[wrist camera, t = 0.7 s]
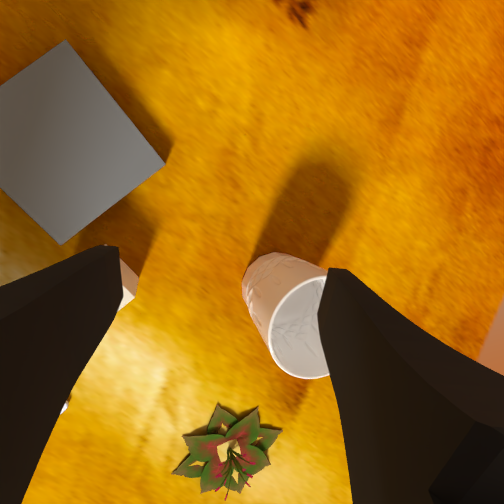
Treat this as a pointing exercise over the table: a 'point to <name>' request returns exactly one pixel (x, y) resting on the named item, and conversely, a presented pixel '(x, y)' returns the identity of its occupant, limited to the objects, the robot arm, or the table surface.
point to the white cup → (288, 311)
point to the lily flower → (245, 463)
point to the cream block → (127, 283)
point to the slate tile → (67, 144)
